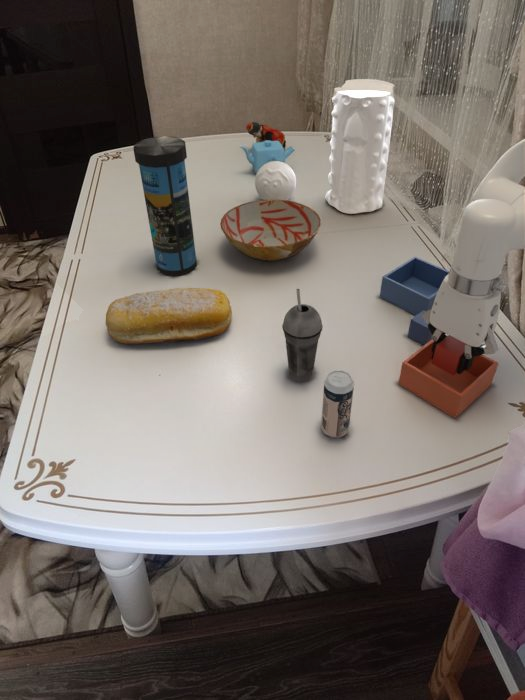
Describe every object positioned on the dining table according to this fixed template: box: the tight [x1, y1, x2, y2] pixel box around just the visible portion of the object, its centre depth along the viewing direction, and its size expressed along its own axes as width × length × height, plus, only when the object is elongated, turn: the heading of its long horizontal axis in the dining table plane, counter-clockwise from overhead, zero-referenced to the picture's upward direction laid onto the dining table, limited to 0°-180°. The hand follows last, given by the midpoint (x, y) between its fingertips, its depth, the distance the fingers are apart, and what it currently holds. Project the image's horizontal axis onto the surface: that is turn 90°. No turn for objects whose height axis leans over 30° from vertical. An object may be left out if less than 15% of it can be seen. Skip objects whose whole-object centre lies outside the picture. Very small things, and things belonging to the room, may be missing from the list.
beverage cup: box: [282, 288, 324, 382], centre depth 99 cm, size 7×7×20 cm
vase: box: [325, 78, 396, 215], centre depth 150 cm, size 17×16×32 cm
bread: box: [105, 287, 233, 345], centre depth 114 cm, size 13×26×8 cm, turn 98°
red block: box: [432, 334, 465, 376], centre depth 97 cm, size 4×4×4 cm
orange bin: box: [397, 340, 500, 419], centre depth 100 cm, size 12×12×6 cm
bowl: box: [219, 199, 322, 261], centre depth 138 cm, size 25×25×8 cm
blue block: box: [407, 310, 432, 346], centre depth 111 cm, size 4×4×4 cm
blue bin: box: [379, 256, 450, 316], centre depth 122 cm, size 12×12×6 cm
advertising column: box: [132, 135, 198, 277], centre depth 126 cm, size 11×11×30 cm
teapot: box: [239, 140, 295, 175], centre depth 175 cm, size 18×14×10 cm
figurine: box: [245, 121, 287, 149], centre depth 190 cm, size 10×10×15 cm
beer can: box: [320, 370, 355, 438], centre depth 91 cm, size 5×5×12 cm
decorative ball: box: [254, 161, 297, 201], centre depth 158 cm, size 12×12×12 cm
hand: (449, 362), depth 98 cm, fingers closed on red block, 4 cm apart
